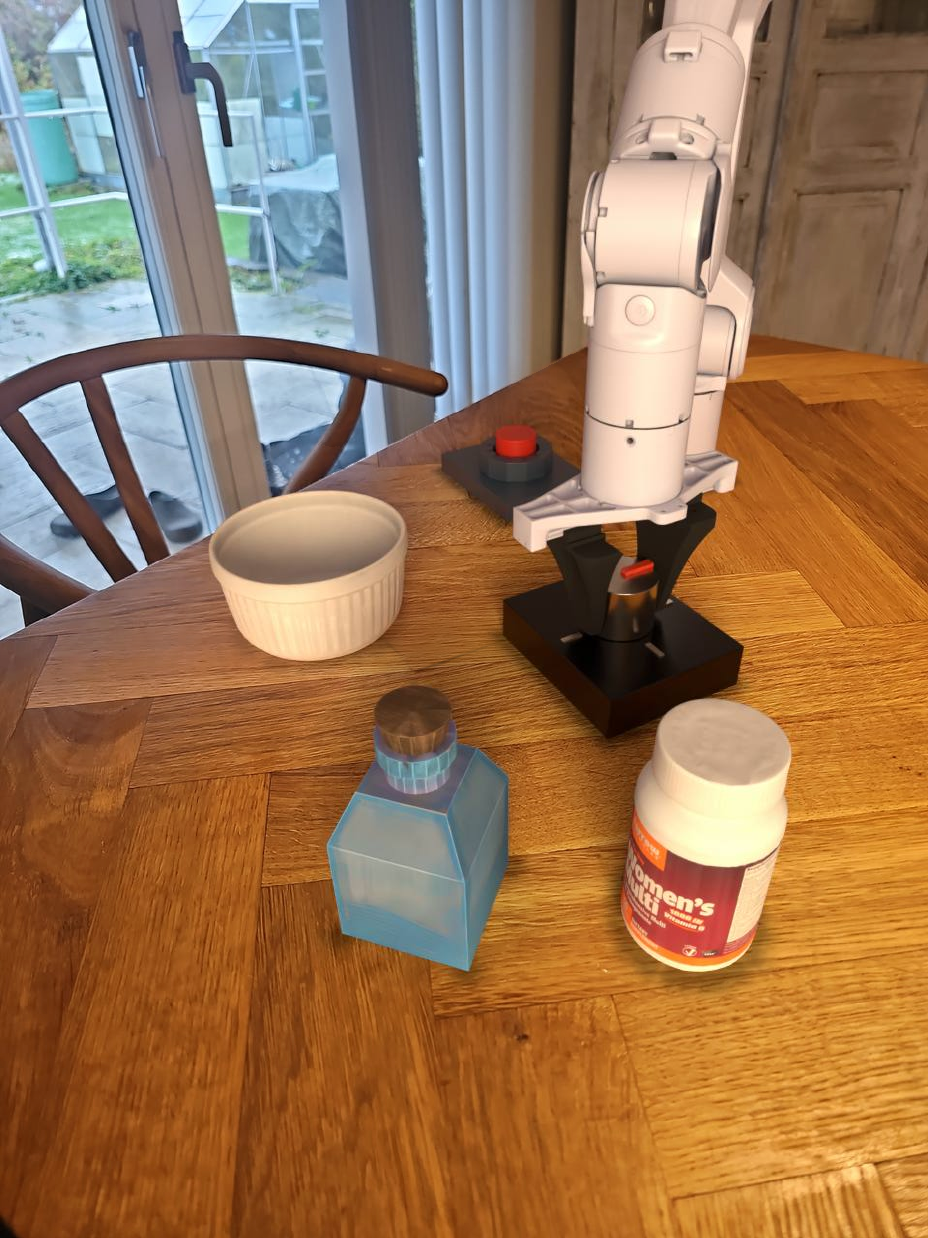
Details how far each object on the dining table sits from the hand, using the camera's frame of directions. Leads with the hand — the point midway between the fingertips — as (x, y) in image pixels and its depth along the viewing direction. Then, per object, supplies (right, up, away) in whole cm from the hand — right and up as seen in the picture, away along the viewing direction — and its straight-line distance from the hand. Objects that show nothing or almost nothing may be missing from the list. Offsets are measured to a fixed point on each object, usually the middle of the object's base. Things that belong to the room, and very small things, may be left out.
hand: (618, 615), depth 54 cm
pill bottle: (+1, -14, -14) cm, 20 cm away
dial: (0, 0, 0) cm, 0 cm away
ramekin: (-20, 0, +7) cm, 21 cm away
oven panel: (0, -3, +2) cm, 3 cm away
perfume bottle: (-11, -14, -13) cm, 22 cm away
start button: (-5, +15, +22) cm, 27 cm away
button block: (-5, +12, +23) cm, 27 cm away
